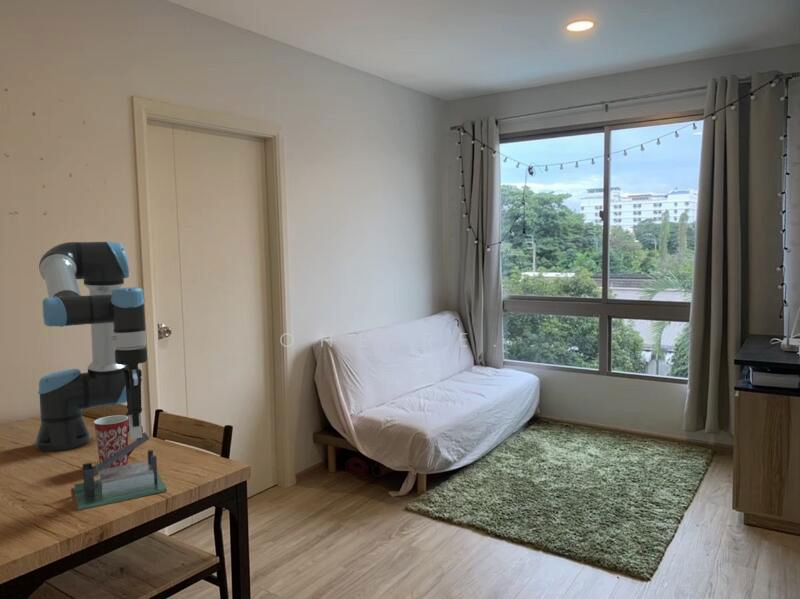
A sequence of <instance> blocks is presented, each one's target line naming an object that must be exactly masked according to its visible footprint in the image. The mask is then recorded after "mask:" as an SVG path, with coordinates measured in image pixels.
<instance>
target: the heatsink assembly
mask: <svg viewBox="0 0 800 599" xmlns="http://www.w3.org/2000/svg"><path fill="white" fill-rule="evenodd" d="M157 464H158V461H157V455H154V450H153V449H150V450H147V461H141V462H135V463H129V464H128V463H127V464H126V465H123V466H117V467H112V468H106V469H102V470H101V471H99V472H98V473H97V477H98V479H97V480H95V477H94V476H95V475H94V471H93V469H92V468H93V463H92V462H87V463H83V464H82V475H83V482H81V483H76V484H73V486H74V487H73V488H74V493H75V499H76V501H75V502H76V506H77V510H78V511H80V510H84V509H88V508H94V507H98V506H99V507H100V506H103V505H109V504H113V503H114V504H115V503H118V502H123V501H127V500H132V499H137V498H141V497H146V496H151V495H155V494H161V493H166V492H167V493H168V489H167V486H166V485H165V482H164V481H163V479H162V477H161V476H160V474H159V472H158V467H157V466H158V465H157Z"/></svg>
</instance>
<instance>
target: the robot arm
mask: <svg viewBox="0 0 800 599" xmlns="http://www.w3.org/2000/svg"><path fill="white" fill-rule="evenodd" d="M40 258H41V259H40V260H39V264H38V270H39V274H40V276H41V278H42V279H43V280H44V281H45V285H46V289H47V290H46V291H47V295H48V297H45V298H43V300H42V302H41V303H42V317H43V323H44V326H46V327H60V328H61V327H67V326H70V327H71V326H81V325H82V326H83V325H90V330H91V331H90V334H91V335H90V336H91V355H92V361H91V363H89V364H88V365H87V372H81V370H80V369H78V368H70V369H63V370H59V371H54V372H51V373H48V374H46V375H44V376H42V377H41V378H40V379H39V381H38V395H39V412H40V413H39V414H40V425H39V429H38V432H37V435H36V438H35V448H36V450H37V451H42V452H59V451H60V452H61V451H66V450H70V449H75V448H78V447H81V446H84V445H86V444H89V442H90V440H91V437H90V436H91V435H90V430H89V429H88V426H87V424H86V422H85V420H84V417H83V410H87V409H92V408H93V409H94V408H101V407H108V406H116V405H121V404H125V403H126V408H127V411H126V416H128V423H129V429H130V431H129V439H130V440H137V438H142V428H143V426H142V427H141V425H142V414H141V413H142V412H143V408H142V381H143V380H142V377H143V376H142V375H143V374H142V369H140V368H139V364H143V363H146V362H147V361H148V349H147V348H146V345H147V330H146V316H145V296H144V290H143V289H142V288H141V287H137V286H134V287H132V286H131V287H123V285H124V284H125V281H124V280H125V279H127V278H129V277H130V266H129V260H128V256H127V253H126V250H125V248H124V246H123V245H122V243H119V242H115V241H114V242H113V241H83V242H80V241H77V242H76V241H69V242H64V243H60V244H57V245H55V246H53V247H52V248H50V249H48V250H47V251H46V252H45V253H44V254H43V255H42V257H40ZM77 280H83V285H84V286H85V287H86V288H87V289H88V290H89V295H82V293H81V290H80V288H79V284H78V282H77Z"/></svg>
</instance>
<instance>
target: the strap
mask: <svg viewBox="0 0 800 599" xmlns="http://www.w3.org/2000/svg"><path fill="white" fill-rule="evenodd" d="M149 440H150V438H149V436H148V434H147V433H146V431H144V432H143V434H142V438H139V439H135V440H134V441H133V442H131V443H130V444H128V446H126V447H125V448H123V449H122V450H120V451H119V452H117V453H116V454H114V455H112V456H111V457H109V458H108V459H106V460H105V461H103V462H102V463H100V462H99V463H98V464H97V465H95V466H94V467H92V469H93V471H94V476H95V475H97V474H98V472H99V471H101V470H102V469H104V468H106V467H107V466H109V465H110V464H112V463H113V462H115V461H116V460H118V459H119V458H121V457H122V456H124V455H126V454H127V453H129V452H130V451H132V450H133V449H134V450H135V449H137V448H139V446H141V445H142V444H144V443H145V442H147V441H149ZM134 450H133V451H134ZM133 451H132V452H133Z"/></svg>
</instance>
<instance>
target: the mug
mask: <svg viewBox="0 0 800 599" xmlns="http://www.w3.org/2000/svg"><path fill="white" fill-rule="evenodd" d="M93 426H94V429H95V438H96V445H97V453H98V462H99V464H100V463H102V462H103V461H105V460H106V459H108V458H109V457H111V456H112V455H114V454H116V453H117V452H119V451H120V450H122V449H123V448H125V447H126V446H128V445H129V442H128V441H129V438H128V437H129V433H130V429H129V416H128V415H121V414H118V415H117V414H116V415H109V416H103V417H99V418H97V419H95V420H93ZM141 427H142V434H143V433H144V432H143V431H144V428H143V425H142V424H141ZM137 439H139V438H137ZM137 439H136V440H137ZM134 450H135V449H133V450H132V451H130V452H129V453H127V454H126V455H124V456H122V457H121V458H119V459H118V460H116V461H115V462H113V463H112V464H110V465H109V466H107V467H106V468H112V467H117V466H123V465H128V463H129V456H131V454H132V453H133V452H134ZM106 468H104V469H106Z"/></svg>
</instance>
